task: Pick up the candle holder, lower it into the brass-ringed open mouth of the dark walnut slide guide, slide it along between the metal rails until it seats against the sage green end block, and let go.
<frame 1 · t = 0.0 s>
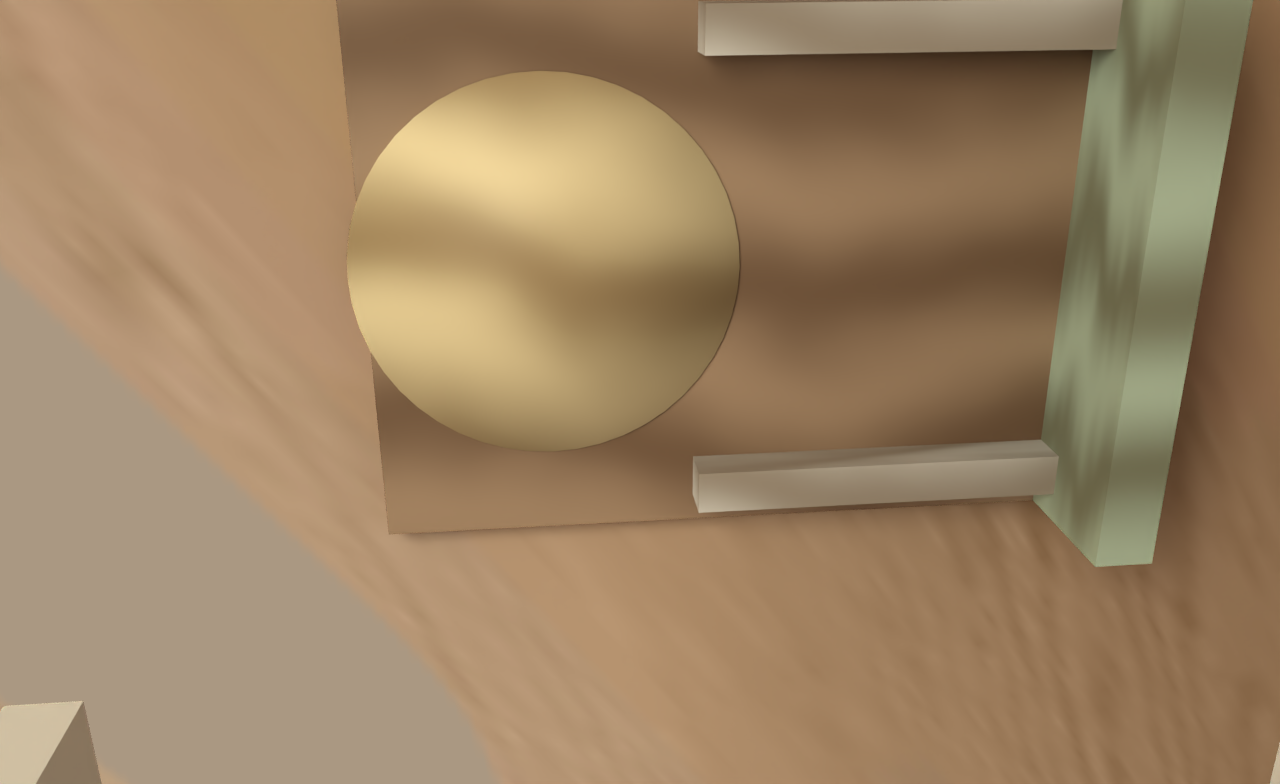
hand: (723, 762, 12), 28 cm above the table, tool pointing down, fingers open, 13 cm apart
slide guide: (748, 258, 39), on the table
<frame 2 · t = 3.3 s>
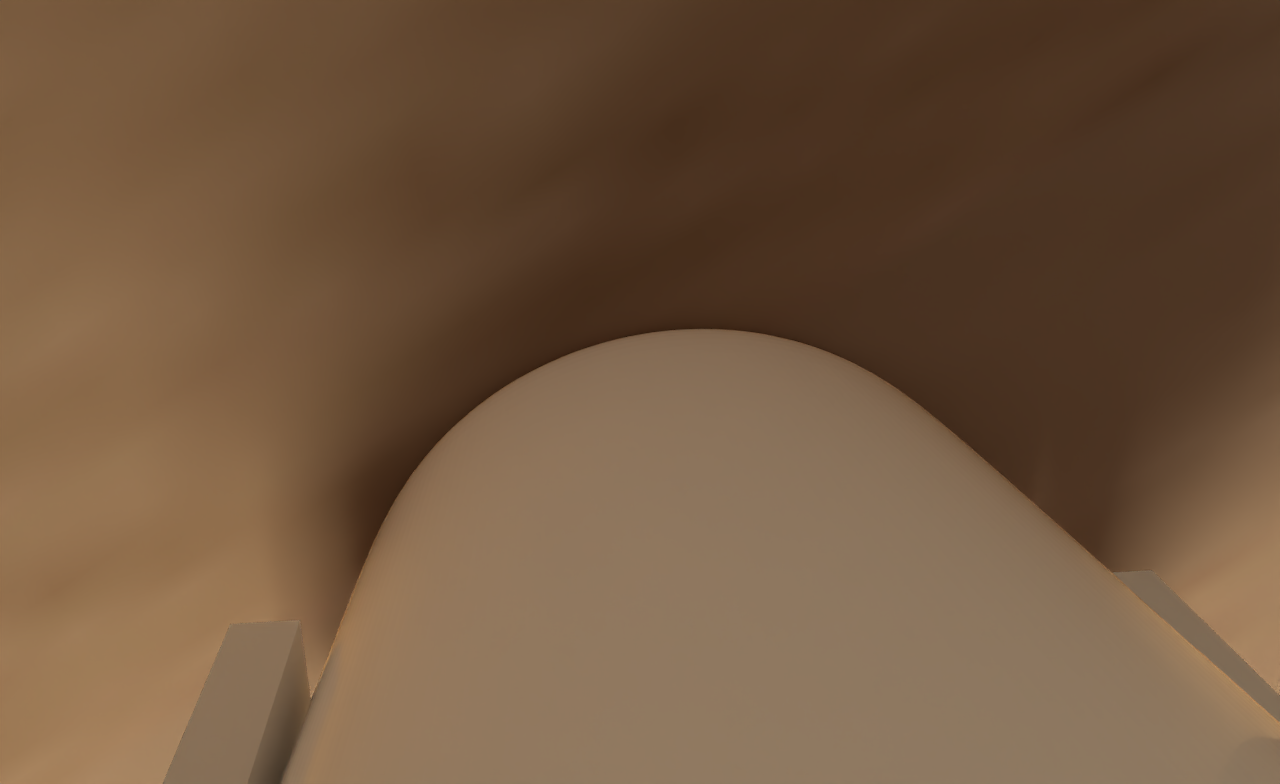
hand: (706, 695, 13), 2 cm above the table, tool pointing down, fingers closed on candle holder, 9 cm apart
candle holder: (682, 614, 15), on the table, touching gripper
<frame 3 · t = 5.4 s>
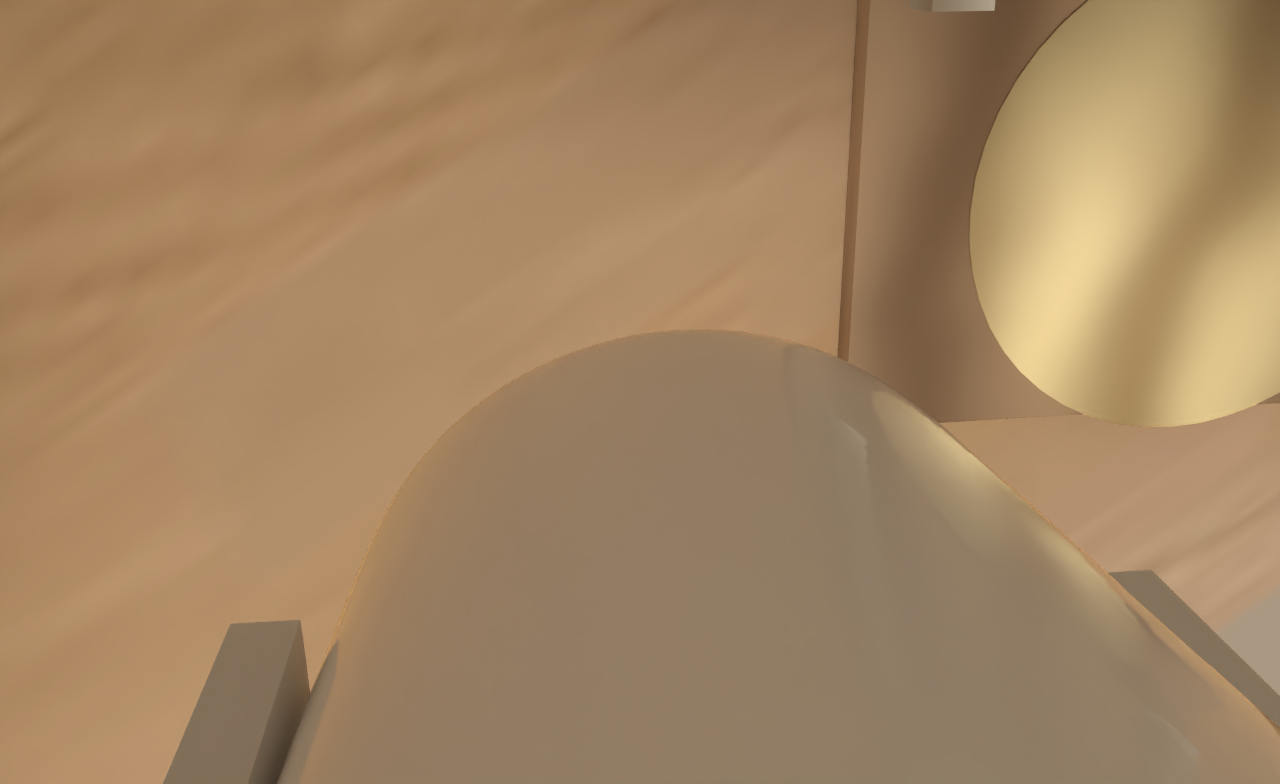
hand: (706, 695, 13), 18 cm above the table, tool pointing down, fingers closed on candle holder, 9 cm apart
candle holder: (680, 614, 15), point 16 cm above the table, touching gripper
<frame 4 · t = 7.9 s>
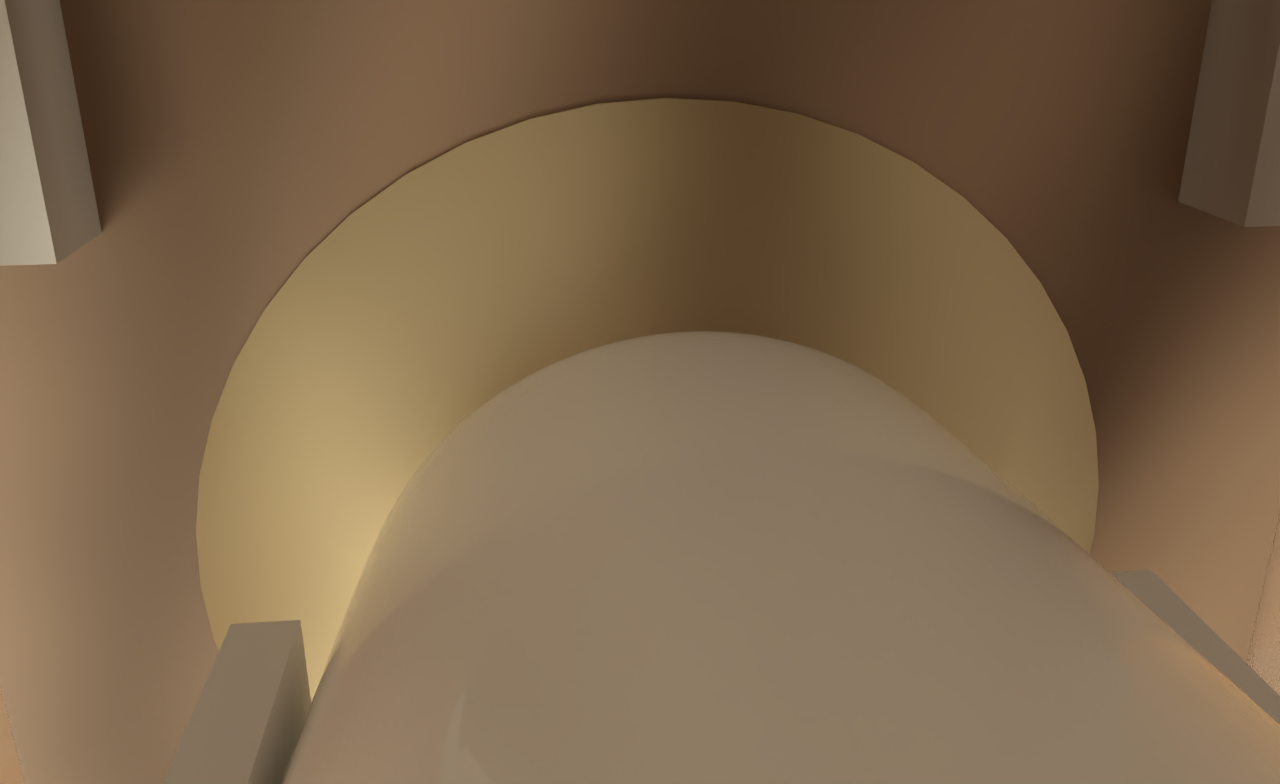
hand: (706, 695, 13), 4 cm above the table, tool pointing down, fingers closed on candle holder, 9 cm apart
candle holder: (683, 616, 15), point 3 cm above the table, touching gripper
slide guide: (655, 49, 15), on the table
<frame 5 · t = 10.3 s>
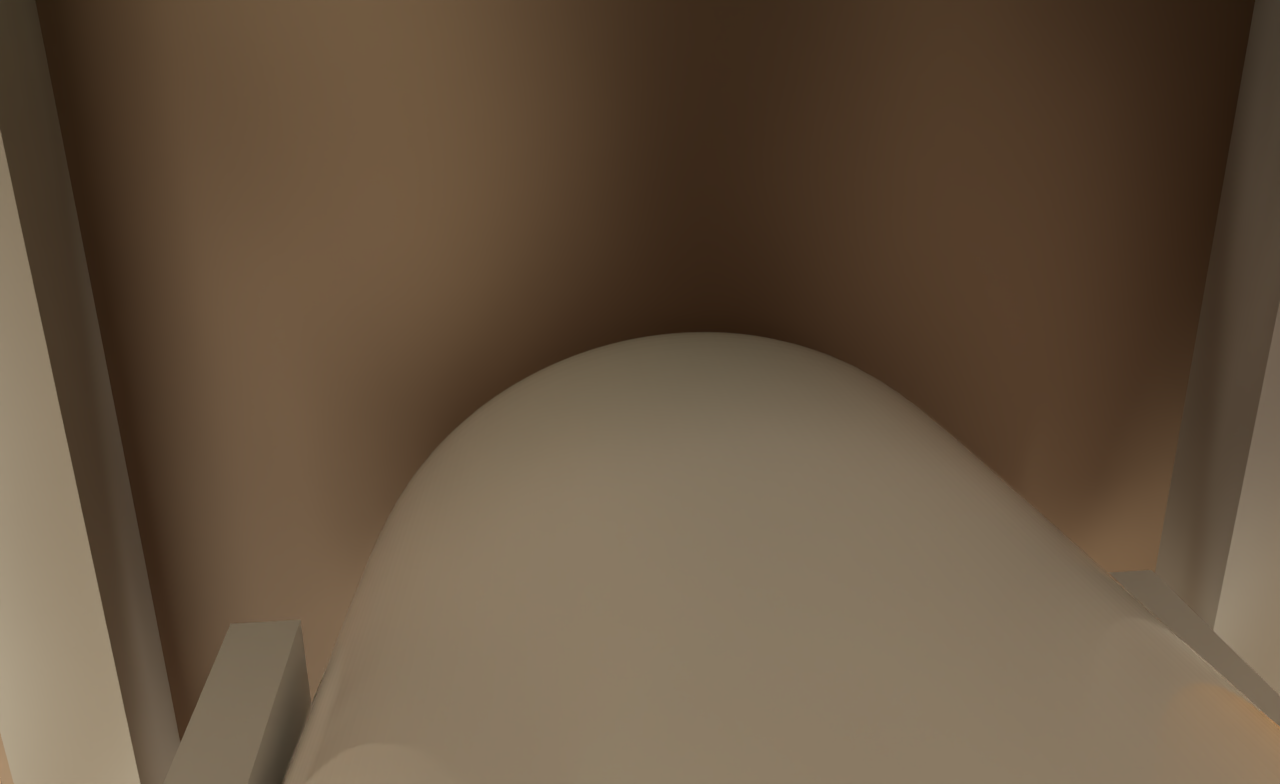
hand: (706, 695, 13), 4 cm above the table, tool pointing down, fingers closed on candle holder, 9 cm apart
candle holder: (683, 617, 15), point 2 cm above the table, touching gripper
slide guide: (668, 690, 18), on the table
when the fingers open (3 cm above the table, at t = 12.4 s): candle holder stays where it is, resting on slide guide.
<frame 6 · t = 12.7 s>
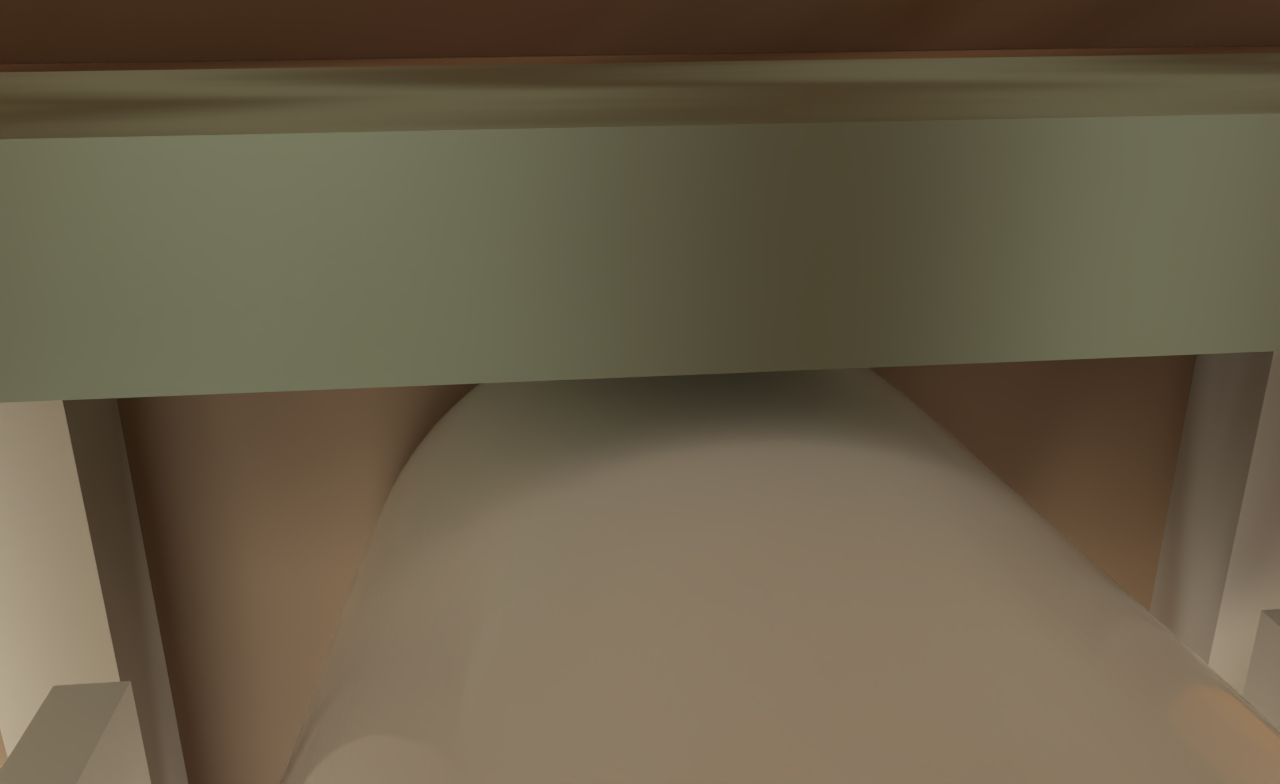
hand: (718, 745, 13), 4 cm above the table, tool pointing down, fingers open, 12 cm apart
candle holder: (670, 584, 16), point 1 cm above the table, touching slide guide
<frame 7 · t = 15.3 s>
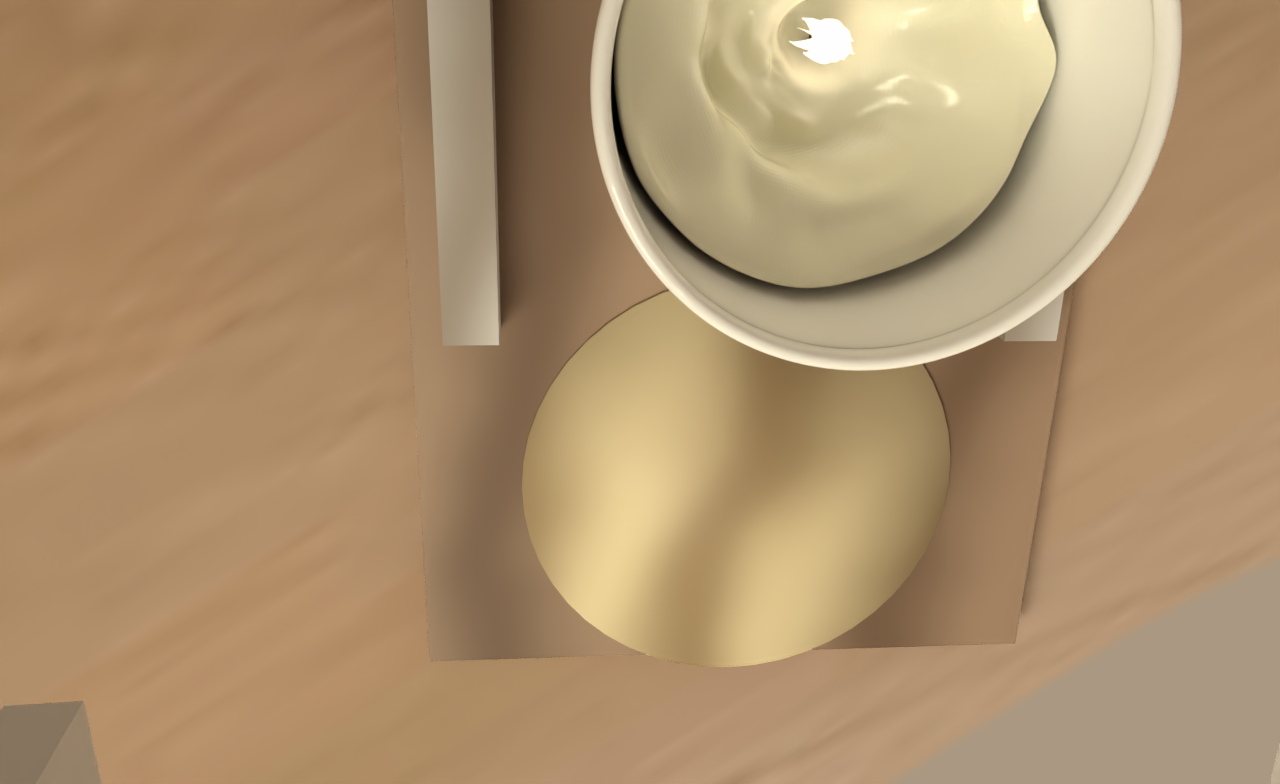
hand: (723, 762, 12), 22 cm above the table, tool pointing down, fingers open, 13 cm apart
candle holder: (758, 35, 30), point 1 cm above the table, touching slide guide
slide guide: (745, 249, 33), on the table
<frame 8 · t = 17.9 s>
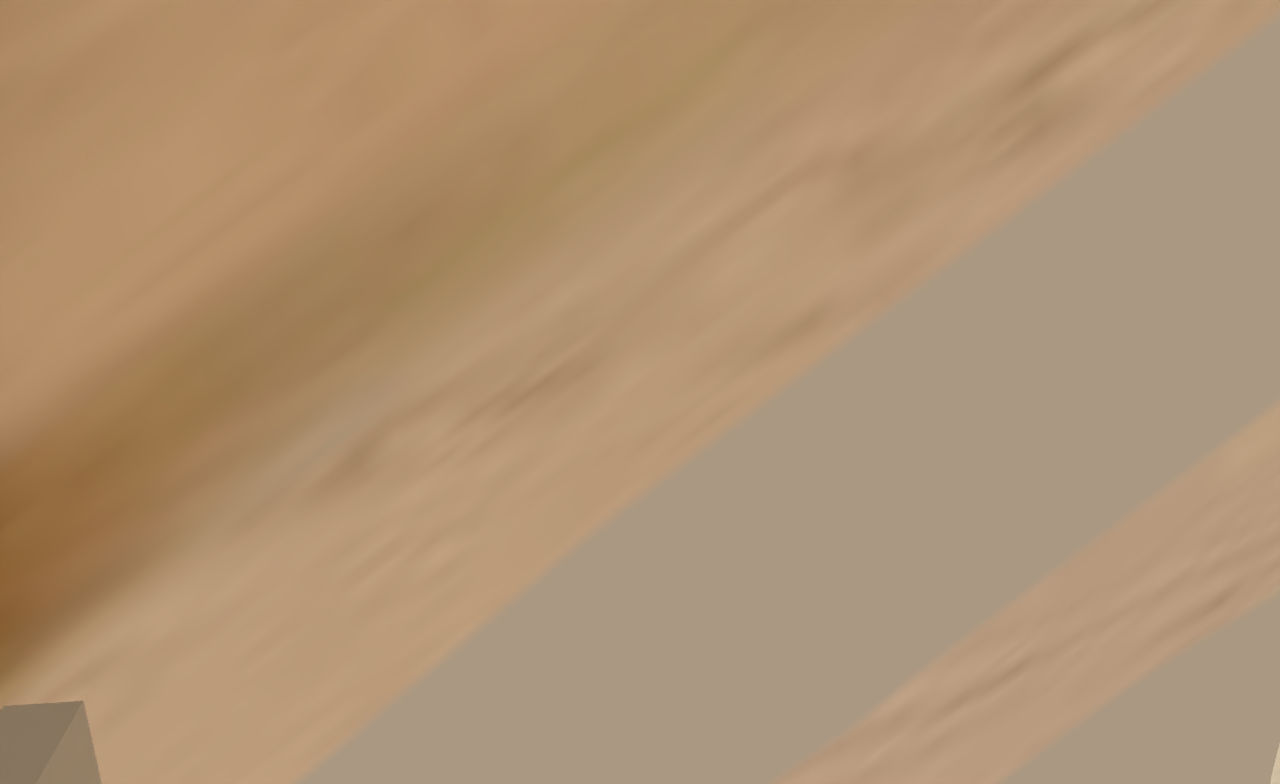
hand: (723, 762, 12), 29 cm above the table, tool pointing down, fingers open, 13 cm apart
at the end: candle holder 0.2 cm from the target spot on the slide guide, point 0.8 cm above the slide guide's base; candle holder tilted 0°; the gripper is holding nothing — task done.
